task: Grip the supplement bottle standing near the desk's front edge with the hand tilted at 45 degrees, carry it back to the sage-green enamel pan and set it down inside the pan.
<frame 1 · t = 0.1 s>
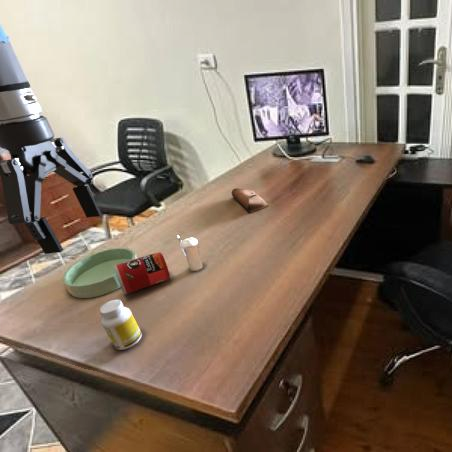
hand: (76, 232, 67), 25 cm above the table, tool pointing down, fingers open, 13 cm apart
pan: (106, 276, 97), on the table
milkshake: (195, 268, 97), on the table
sunglasses case: (250, 202, 133), on the table
supplement bottle: (129, 341, 75), on the table
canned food: (166, 264, 93), point 4 cm above the table
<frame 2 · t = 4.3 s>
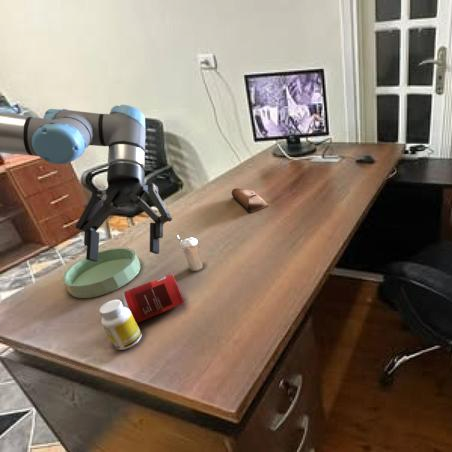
hand: (123, 256, 77), 15 cm above the table, tool tilted 45°, fingers open, 13 cm apart
supplement bottle: (129, 341, 75), on the table, touching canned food
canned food: (179, 287, 83), point 4 cm above the table, touching supplement bottle
everything else where it was.
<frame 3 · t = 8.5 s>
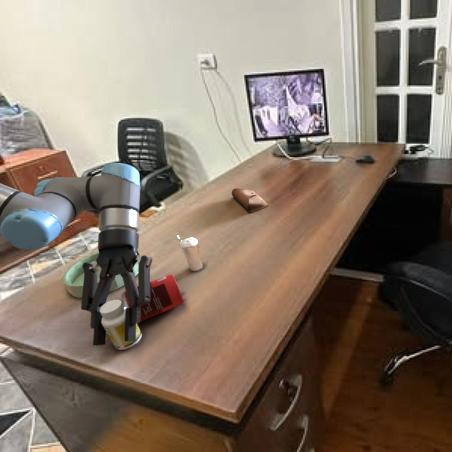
hand: (114, 342, 70), 3 cm above the table, tool tilted 45°, fingers closed on supplement bottle, 5 cm apart
supplement bottle: (129, 341, 75), on the table, touching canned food, gripper
everything else where it was.
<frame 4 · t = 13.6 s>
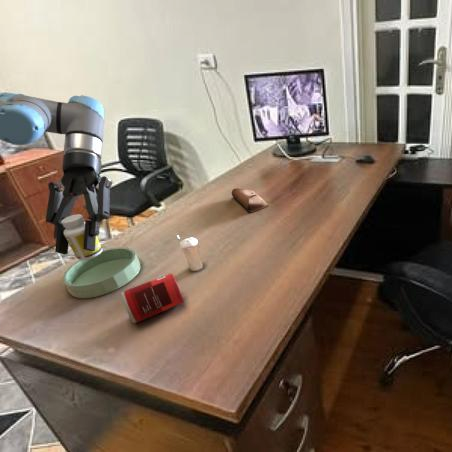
hand: (75, 251, 78), 16 cm above the table, tool tilted 45°, fingers closed on supplement bottle, 5 cm apart
supplement bottle: (90, 255, 83), point 13 cm above the table, touching gripper
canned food: (179, 287, 83), point 4 cm above the table
everything else where it was.
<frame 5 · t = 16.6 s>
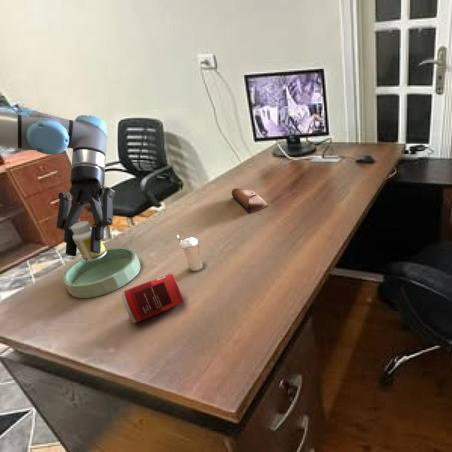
hand: (83, 253, 89), 10 cm above the table, tool tilted 45°, fingers closed on supplement bottle, 5 cm apart
supplement bottle: (96, 256, 94), point 7 cm above the table, touching gripper
everything else where it was.
when the fingers open (4 cm above the table, at t = 18.7 s): supplement bottle stays where it is, resting on pan.
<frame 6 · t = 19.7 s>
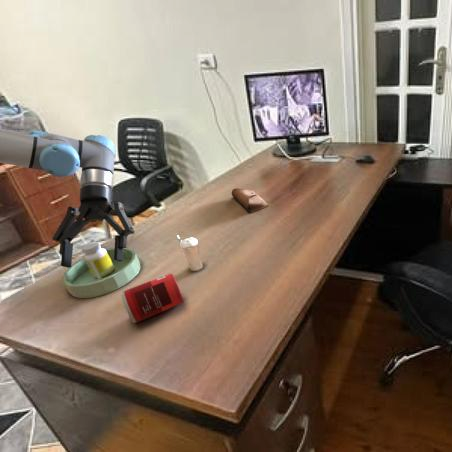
hand: (92, 263, 92), 6 cm above the table, tool tilted 45°, fingers open, 13 cm apart
supplement bottle: (105, 275, 97), resting on pan
everything else where it was.
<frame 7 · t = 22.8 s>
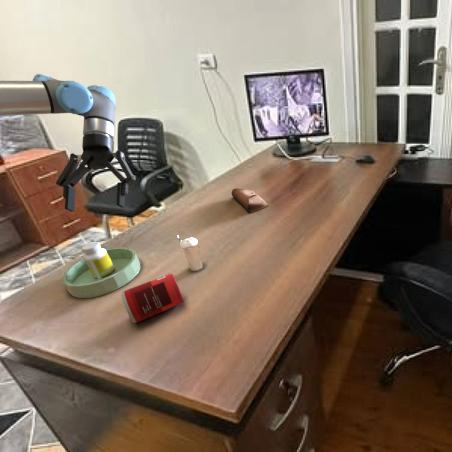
hand: (95, 208, 97), 17 cm above the table, tool tilted 40°, fingers open, 13 cm apart
nothing on the table moved.
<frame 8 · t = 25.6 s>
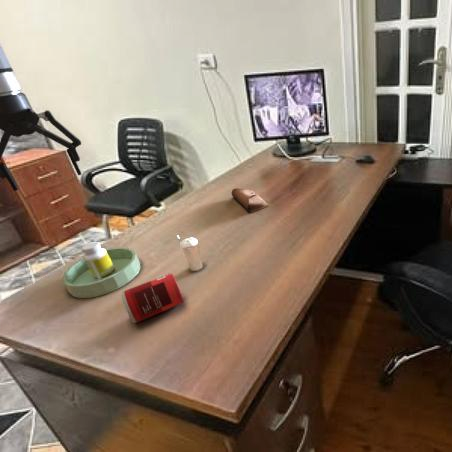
hand: (49, 181, 90), 27 cm above the table, tool pointing down, fingers open, 13 cm apart
nothing on the table moved.
at the end: supplement bottle inside the target area in the pan (0.1 cm from its centre), point 0.4 cm above the pan's base; the gripper is holding nothing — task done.
